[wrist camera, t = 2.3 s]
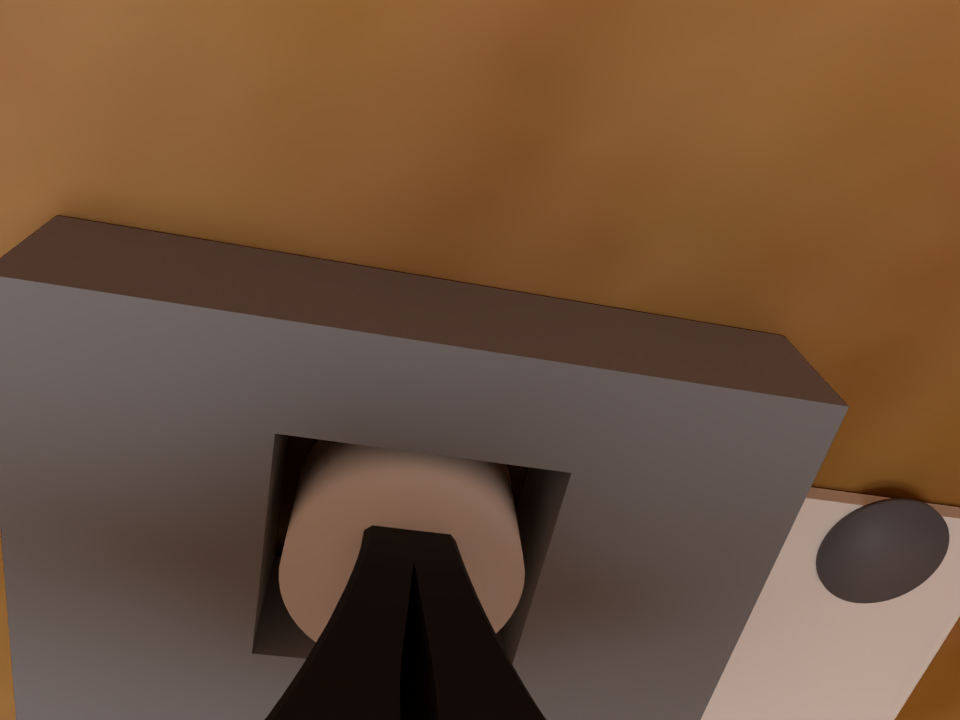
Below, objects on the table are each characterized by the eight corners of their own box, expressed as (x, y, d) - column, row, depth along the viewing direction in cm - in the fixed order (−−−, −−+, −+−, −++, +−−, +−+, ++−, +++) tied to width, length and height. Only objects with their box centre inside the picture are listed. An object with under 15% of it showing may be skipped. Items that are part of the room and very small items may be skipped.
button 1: (532, 420, 14) (550, 498, 12) (487, 585, 16) (497, 677, 14) (310, 388, 13) (291, 465, 11) (288, 563, 15) (268, 656, 13)
